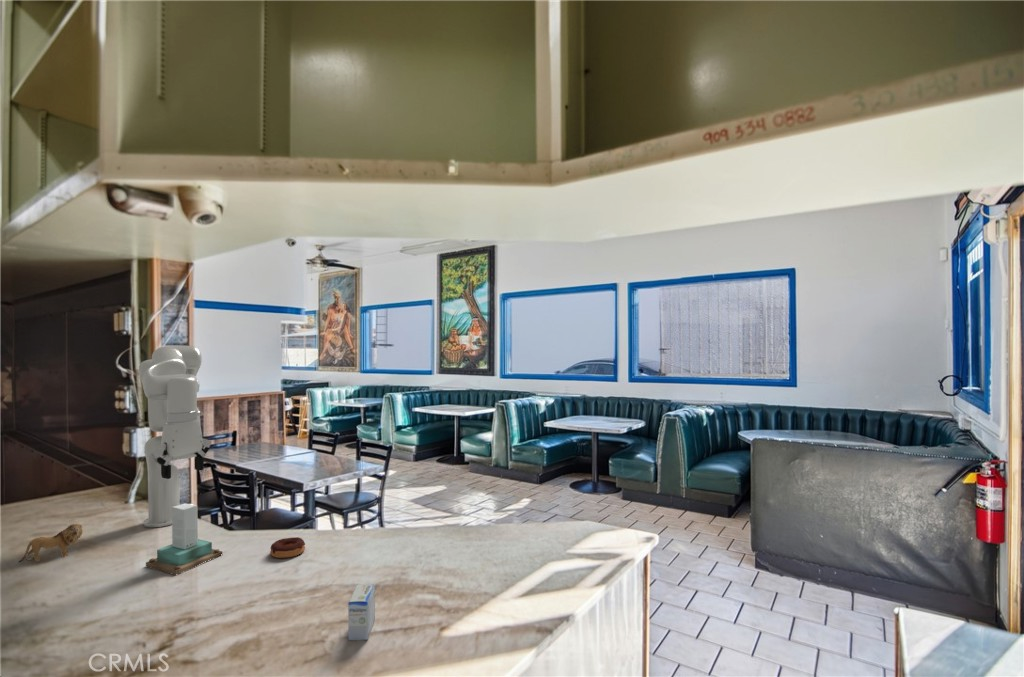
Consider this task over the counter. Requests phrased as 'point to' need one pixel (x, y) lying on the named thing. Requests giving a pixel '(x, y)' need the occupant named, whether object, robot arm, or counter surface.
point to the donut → (287, 547)
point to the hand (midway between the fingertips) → (183, 473)
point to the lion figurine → (54, 542)
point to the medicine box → (361, 612)
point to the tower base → (181, 568)
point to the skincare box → (184, 526)
